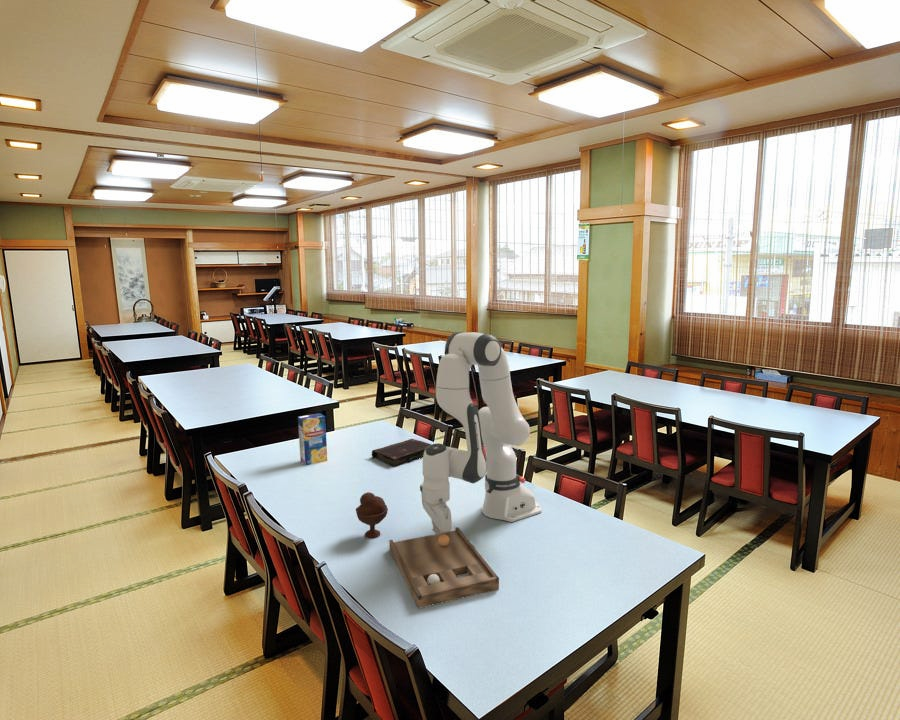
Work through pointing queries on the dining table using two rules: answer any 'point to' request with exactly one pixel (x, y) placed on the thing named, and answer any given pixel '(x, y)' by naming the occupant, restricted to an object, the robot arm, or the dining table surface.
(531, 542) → the dining table surface
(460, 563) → the wooden tray
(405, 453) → the diary
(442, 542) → the ball orange
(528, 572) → the dining table surface
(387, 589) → the dining table surface
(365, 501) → the ice cream bowl
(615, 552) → the dining table surface
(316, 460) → the beverage box
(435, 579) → the ball grey
